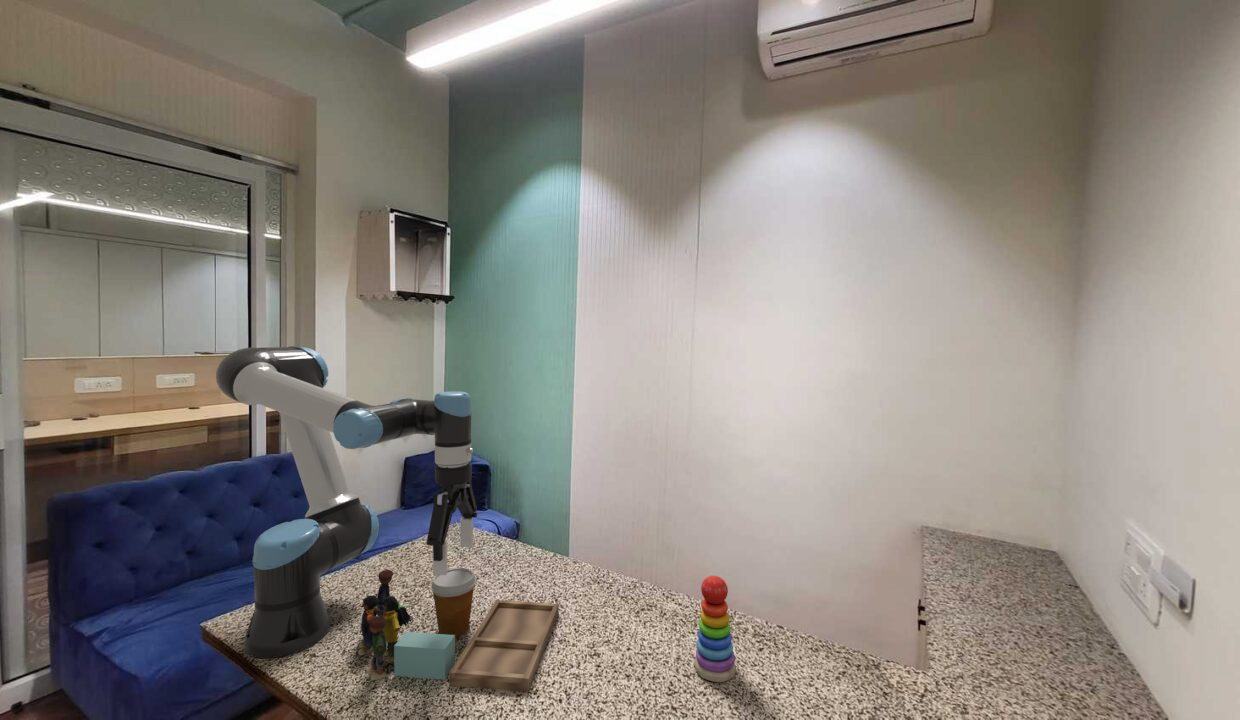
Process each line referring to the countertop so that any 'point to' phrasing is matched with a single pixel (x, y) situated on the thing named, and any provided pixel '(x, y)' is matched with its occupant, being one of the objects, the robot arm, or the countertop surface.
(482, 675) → the divided compartment tray
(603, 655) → the countertop surface
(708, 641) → the stacking toy
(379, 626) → the doll family
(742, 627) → the countertop surface
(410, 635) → the teal rectangular block
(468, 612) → the disposable coffee cup
